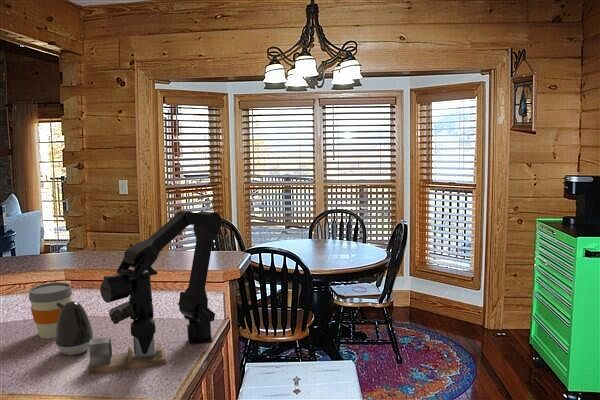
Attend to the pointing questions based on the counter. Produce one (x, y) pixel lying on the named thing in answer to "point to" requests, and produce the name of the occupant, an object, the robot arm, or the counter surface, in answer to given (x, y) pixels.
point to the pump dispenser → (73, 329)
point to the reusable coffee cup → (48, 306)
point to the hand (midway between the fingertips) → (144, 347)
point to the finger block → (139, 352)
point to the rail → (118, 358)
